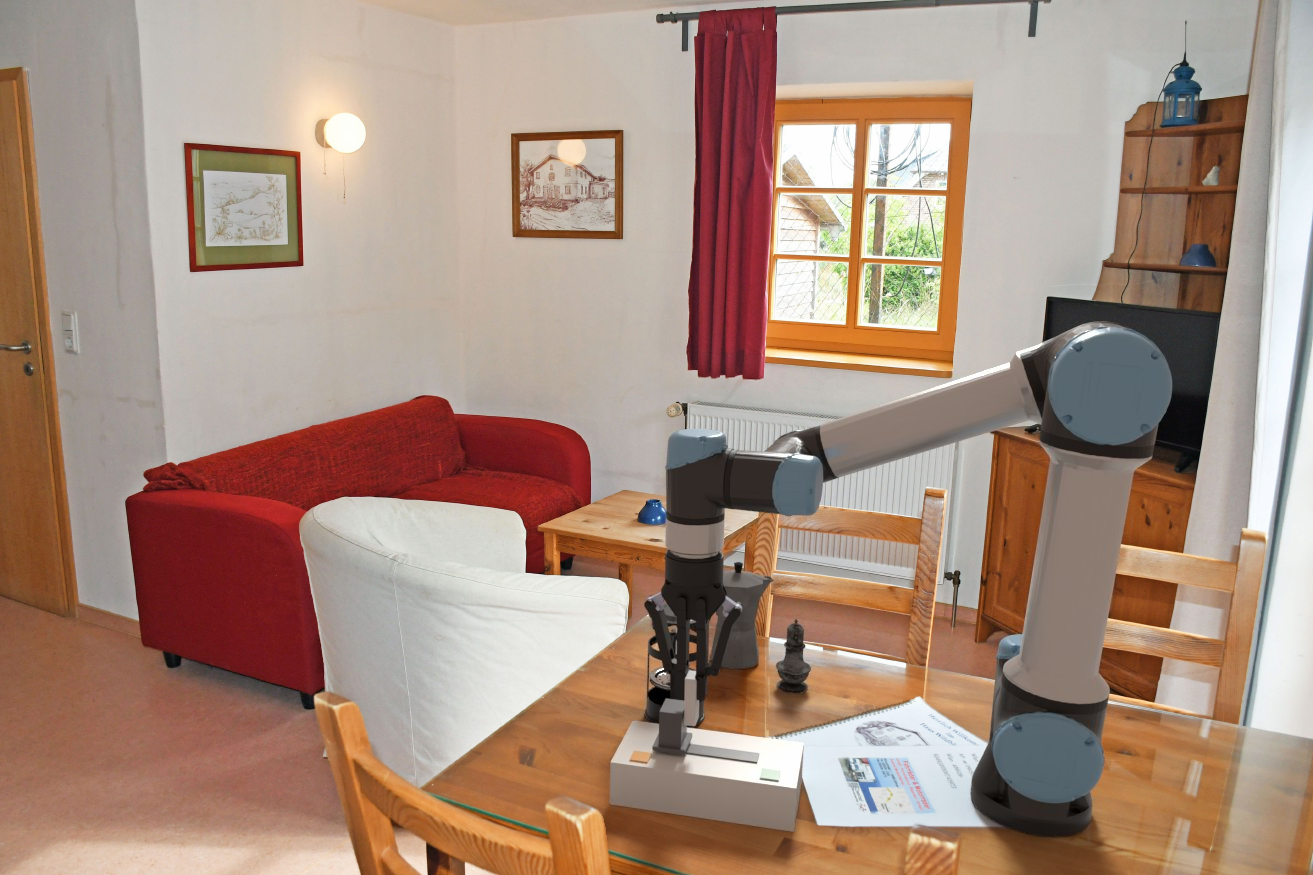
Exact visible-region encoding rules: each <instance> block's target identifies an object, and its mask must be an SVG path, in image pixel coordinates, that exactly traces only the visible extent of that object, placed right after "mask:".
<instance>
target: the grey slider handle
mask: <svg viewBox="0 0 1313 875" xmlns="http://www.w3.org/2000/svg"><path fill="white" fill-rule="evenodd" d="M661 706H662V707H661V709H660V711H659V734H658V736H657V738H656V740H655V742H654V744H653V746H652V751H659V752H667V753H674V754H681V755H685V754H686V751H687V749H688V746H689V744H690V741H691V739H692V733H688V732H687V725H684V701H683V700H675V699H667V698H666V699H665V701H664V703H663V705H661Z"/></svg>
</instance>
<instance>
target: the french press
mask: <svg viewBox="0 0 1313 875" xmlns="http://www.w3.org/2000/svg"><path fill="white" fill-rule="evenodd" d="M664 603H665V607H664V608H663V609H664V612H665V615H666V620H667V624H668V628H669V627H673V626H676V627H675V628H672V629H670V630H671V631H669V632H670V637H671V641H672V645H673V650H674V654H675V658H676V659H677V617H676V616H675V615H674V613H673V612H672V610H671V609H670V607H669V606H668V604H667V603H666V602H664ZM648 616H649V618H650V619H651V620H652V618H651V616H650V615H649V614H648ZM650 626H651V628H652V630H654V626H653V622H652V621H651V624H650ZM690 631H693V632H694V633H696V634H693V633H690V638H689V643H693V644H696V642H697V629H696V621H694V620H690ZM656 644H658V643H657V639H656V634H655V635H652V636H651V637H650V638H649V639H648V642H647V666H646V667H647V670H646V673H647V674H646V677H647V678H646V706H645V710H644V717H645V719H646V720H647V722H649V723H657V724H659V711H660V709H661V707H662V705H663V703H664V701H665V699H666V698H667V699H675V700H683V701H684V700H685V699H681V698H678V696H677V675H676V674H675V673H674V672H672V671H666V670H664V668H663V666H660V667H657V668H655V669H653V670H652V671H650V656H651V657H652V658H654V659H656V660H659V661H661V662H662V660H661V656H660V652H659V649H658V650H657V649H655V648H653V645H656ZM692 662H696V651H695V652H689V663H692ZM689 670H691V671H696V668H695V669H694V668H692V667H689V668H688V671H689ZM649 682H650V683H649ZM649 684H651V685H652V687H651V688H650V689H649ZM704 708H705V700H704V701H701V700H699V718H698V721H697V723H696V725H695V726H689V725H687V728H694V727H697V726H698V725H700V724H701V723H703V721H705V719H706V718H705V717H706V713H705V710H704Z"/></svg>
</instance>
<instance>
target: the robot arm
mask: <svg viewBox="0 0 1313 875" xmlns="http://www.w3.org/2000/svg"><path fill="white" fill-rule="evenodd" d="M1172 393H1173V378H1172V372H1171V369H1170V366H1169V363H1168V360H1167V358H1166V357H1165V355H1164V354H1163V353H1162V351H1161V350H1160V348H1159V347H1158V345H1156V343H1155V342H1154V341H1152V340H1151V339H1149V338H1148V337H1147V336H1146V335H1144V334H1142V333H1141V332H1138V331H1136V330H1135V329H1132V328H1130V327H1129V326H1126V325H1124V324H1121V323H1117V322H1111V321H1104V320H1102V321H1092V322H1091V321H1090V322H1087V323H1082V324H1080V325H1078V326H1075V327H1073V328H1071V329H1069V330H1067V331H1064V332H1063V333H1060V334H1059V335H1057V336H1054V337H1052V338H1050V339H1047V340H1044V341H1042V342H1040V343H1037V344H1035V345H1032V346H1030V347H1026V348H1024V349H1021V350H1018V351H1016V352H1015V353H1014V356H1013V357H1012V358H1011V360H1010V361H1009V362H1007V363H1004V364H1001V365H999V366H996V367H992V368H989V369H985V370H983V371H980V372H977V373H975V374H970V375H968V376H965V377H961V378H959V379H956V380H953V381H952V380H951V381H950V382H946V383H944V384H940V385H937V386H933V387H932V388H928V389H925V390H923V391H919V392H916V393H913V394H911V395H908V396H904V397H901V398H898V399H895V400H892V401H888V402H885V403H882V404H878V405H877V406H872V407H871V408H867V409H864V410H861V411H858V412H855V413H853V414H849V415H846V416H844V417H843V416H842V417H840V418H836V419H834V420H830V421H827V422H825V423H822V424H821V425H817V426H813V427H810V428H806V429H804V430H803V429H802V430H801V429H797V430H792V431H790V432H789V431H788V432H787V433H784V434H782V435H780V436H779V437H778V438H777V439H775V440H774V441H773V443H772V444H771V445H770V446H768V447H767V448H766V449H765V450H764V451H763V450H762V451H761V450H760V451H759V450H745V449H744V450H740V449H735V448H729V447H728V445H729V444H728V443H727V436H726V433H724V432H722V431H720V430H716V429H715V430H714V429H709V428H686V429H680V430H676V431H675V432H673V433H672V434H671V435H670V436H669V437H668V440H667V448H666V449H667V452H666V463H665V466H664V468H665V498H666V499H665V506H666V509H665V531H664V532H665V535H664V536H665V543H664V544H665V545H664V546H665V548H666V549H667V550H666V551H665V554H664V555H665V558H664V559H665V560H664V583H663V585H662V587H661V589H660V591H659V592H658V593H656V594H655V595H654V594H650V595H649V596H648V597H647V599H646V600H645V601H644V603H643V606H644V609H645V610H646V612H647V613H648V616H649V615H650V616H651V618H652V619H651V618H650V619H651V622H653V626H654V629H653V630H654V634H655V635H656V639H657V643H656V644H657V646H658V651H659V652H660V656H661V660H662V661H661V660H660V661H661V663H662V667H663V668H664V670H666V671H672V672H674V673H675V674H676V675H677V696H678V698H681V699H685V700H684V725H689V726H694V727H696V726H695V725H696V723H697V721H698V718H699V700H701V701H704V702H705V699H706V696H707V694H708V677H711V676H714V677H716V676H718V675H719V674H720V671H721V668H722V667H721V666H722V663H723V659H724V656H725V652H726V649H727V645H728V642H729V638H730V635H731V631H732V628H733V624H734V622H735V621H736V620H737V619H738V617H739V616H740V614H741V612H742V609H743V604H742V603H740V602H736V603H735V602H734V601H733V600H731V599H730V598H729V597H727V591H726V589H725V587H724V584H723V572H724V565H725V564H724V558H725V557H724V556H725V554H724V552H723V551H722V550H723V549H724V546H725V517H726V516H725V512H726V510H725V509H728V510H737V511H747V512H756V513H762V514H763V513H765V514H774V515H781V516H785V517H791V516H800V517H801V516H805V517H806V516H813V515H814V514H816V513H817V512H818V511H819V508H820V503H821V501H822V496H823V488H824V487H823V486H824V483H828V482H830V481H833V480H834V481H835V480H837V479H839V478H842V477H845V476H849V475H852V474H855V473H858V472H862V471H865V470H868V469H872V468H875V467H878V466H881V465H885V464H887V463H891V462H894V461H898V460H901V459H905V458H908V457H912V456H914V455H918V454H921V453H926V452H928V451H931V450H934V449H939V448H941V447H945V446H948V445H952V444H954V443H958V442H962V441H965V440H968V439H971V438H976V437H978V436H983V435H984V434H988V433H991V432H995V431H999V430H1001V429H1005V428H1009V427H1012V426H1014V425H1018V424H1022V423H1025V422H1028V421H1030V422H1033V423H1036V424H1038V425H1040V429H1039V430H1040V431H1039V437H1038V443H1039V445H1040V446H1041V448H1042V449H1044V451H1045V452H1046V454H1047V455H1048V457H1049V460H1050V461H1049V466H1048V473H1047V479H1046V484H1045V490H1044V496H1043V504H1042V505H1043V506H1042V510H1041V516H1040V523H1039V529H1038V536H1037V541H1036V549H1035V554H1034V560H1033V565H1032V566H1033V568H1032V574H1031V580H1030V585H1029V590H1028V591H1029V593H1028V598H1027V603H1026V610H1025V618H1024V623H1023V628H1022V633H1020V634H1019V633H1018V634H1011V635H1007V636H1004V637H1003V638H1002V639H1001V640H1000V641H999V644H998V649H997V654H996V655H995V659H996V666H995V667H996V669H995V679H994V688H993V698H992V708H991V720H990V727H989V728H990V731H989V737H988V738H989V740H988V743H987V745H986V747H985V750H984V751H983V753H982V755H981V757H980V759H979V761H978V763H977V766H976V767H975V770H974V771H973V774H972V777H971V782H970V783H971V784H970V793H969V794H970V799H971V801H972V803H973V805H974V806H975V807H976V809H977V810H978V811H979V812H981V814H983V815H984V816H986V817H987V818H988V819H990V820H992V821H993V822H995V823H997V824H999V825H1000V826H1003V827H1005V828H1008V829H1009V830H1013V831H1017V832H1020V833H1024V834H1027V835H1033V836H1037V837H1038V836H1039V837H1049V838H1050V837H1051V838H1052V837H1053V838H1058V837H1067V836H1073V835H1076V834H1079V833H1081V832H1083V831H1084V830H1085V829H1086V828H1088V827H1089V826H1090V824H1091V820H1092V814H1093V798H1092V794H1091V793H1092V790H1093V789H1094V788H1095V787H1096V786H1097V785H1098V783H1099V782H1100V779H1101V776H1102V774H1103V771H1104V767H1105V766H1104V765H1105V761H1106V760H1105V755H1104V754H1105V750H1104V747H1103V745H1102V740H1103V732H1104V726H1105V721H1106V716H1107V710H1108V705H1109V697H1110V692H1111V689H1110V686H1109V683H1107V681H1106V680H1105V679H1104V678H1103V677H1102V676H1103V675H1101V674H1100V672H1099V670H1100V669H1099V668H1100V663H1101V659H1102V653H1103V648H1104V641H1105V636H1106V630H1107V626H1108V620H1109V619H1108V618H1109V614H1110V608H1111V604H1112V598H1113V592H1114V585H1115V581H1116V580H1115V579H1116V574H1117V570H1118V563H1119V557H1120V554H1121V553H1120V552H1121V546H1122V541H1123V535H1124V528H1125V525H1126V524H1125V523H1126V519H1127V512H1128V508H1129V507H1128V506H1129V501H1130V497H1131V496H1130V495H1131V490H1132V484H1133V479H1134V473H1135V471H1136V470H1138V468H1139V467H1141V466H1143V465H1144V464H1146V463H1148V462H1149V461H1150V460H1152V458H1153V456H1154V455H1153V453H1154V449H1155V444H1156V439H1157V434H1158V433H1157V432H1158V429H1159V428H1158V427H1159V423H1160V422H1161V421H1162V419H1163V417H1164V415H1165V414H1166V413H1167V409H1168V407H1169V405H1170V403H1171V399H1172ZM665 603H667V604H668V606H669V607H670V609H671V610H672V612H673V613H674V615H675V616H676V617H677V659H676V658H675V654H674V650H673V645H672V641H671V637H670V632H671V631H670V629H669V627H668V624H667V620H666V615H665V612H664V609H663V608H664V607H665ZM721 605H723V607H724V610H723V615H724V616H725V617H726V618H725V620H724V623H723V625H722V629H721V632H720V636H719V639H718V643H717V647H716V650H715V654H714V657H713V661H711V662H709V655H710V654H709V651H710V650H709V645H710V644H709V643H710V621H711V619H712V617H713V616H714V614H716V611H717V610H718V608H719V607H720V606H721ZM650 616H649V617H650ZM710 618H711V619H710ZM690 620H694V621H696V629H697V633H696V636H697V642H696V648H695V649H696V651H695V652H696V661H695V670H696V671H691V670H689V671H688V668H690V665H691V664H690V662H689V654H690V642H689V638H690V634H691V633H690V632H691V629H690Z"/></svg>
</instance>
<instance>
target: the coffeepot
mask: <svg viewBox="0 0 1313 875" xmlns="http://www.w3.org/2000/svg"><path fill="white" fill-rule="evenodd" d="M733 565H734V570H733V569H732V570H731V569H730V570H725V571H724V570H723V584H724V587H725V589H726V591H727V597H729V598H730V599H731V600H733V601H734V602H735V603H736V602H740V603H742V604H743V609H742V612H741V614H740V616H739V617H738V619H737V620H736V621H735V622H734V624H733V628H732V631H731V635H730V638H729V642H728V645H727V649H726V652H725V656H724V659H723V663H722V666H721V668H724V669H729V670H745V669H746V670H747V669H749V668H750V669H751V668H754V667H756V666H757V665H758V664H759V661H760V652H759V643H758V636H757V635H758V634H757V625H756V619H757V615H758V610H759V604H760V601H761V600H760V599H761V598H762V596H763V594H764V593H765V591H766V590H767V588H768V587H769V585H770V584H771V583H772V582H774V581H775V580H774V579H773V578H772V577H771V576H768V575H765V574H756V573H754V572H752V571H746V570H745V571H744V570H743V566H744V563H743V562H740V561H736V562H734V563H733ZM723 610H724V607H723V605H721V606H720V607H719V608H718V610H717V611H716V612H715V615H716V616H717V618H716V619H717V620H716V621H717V622H716V624H715V630H714V635H713V639H712V640H713V642H712V646H711V651H710V654H709V655H710V657H709V660H710V661H711V662H712V661H713V657H714V654H715V650H716V647H717V643H718V639H719V636H720V632H721V629H722V625H723V623H724V620H725V618H726V617H725V616H724V615H723ZM711 619H712V617H711V618H710V620H711Z"/></svg>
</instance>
